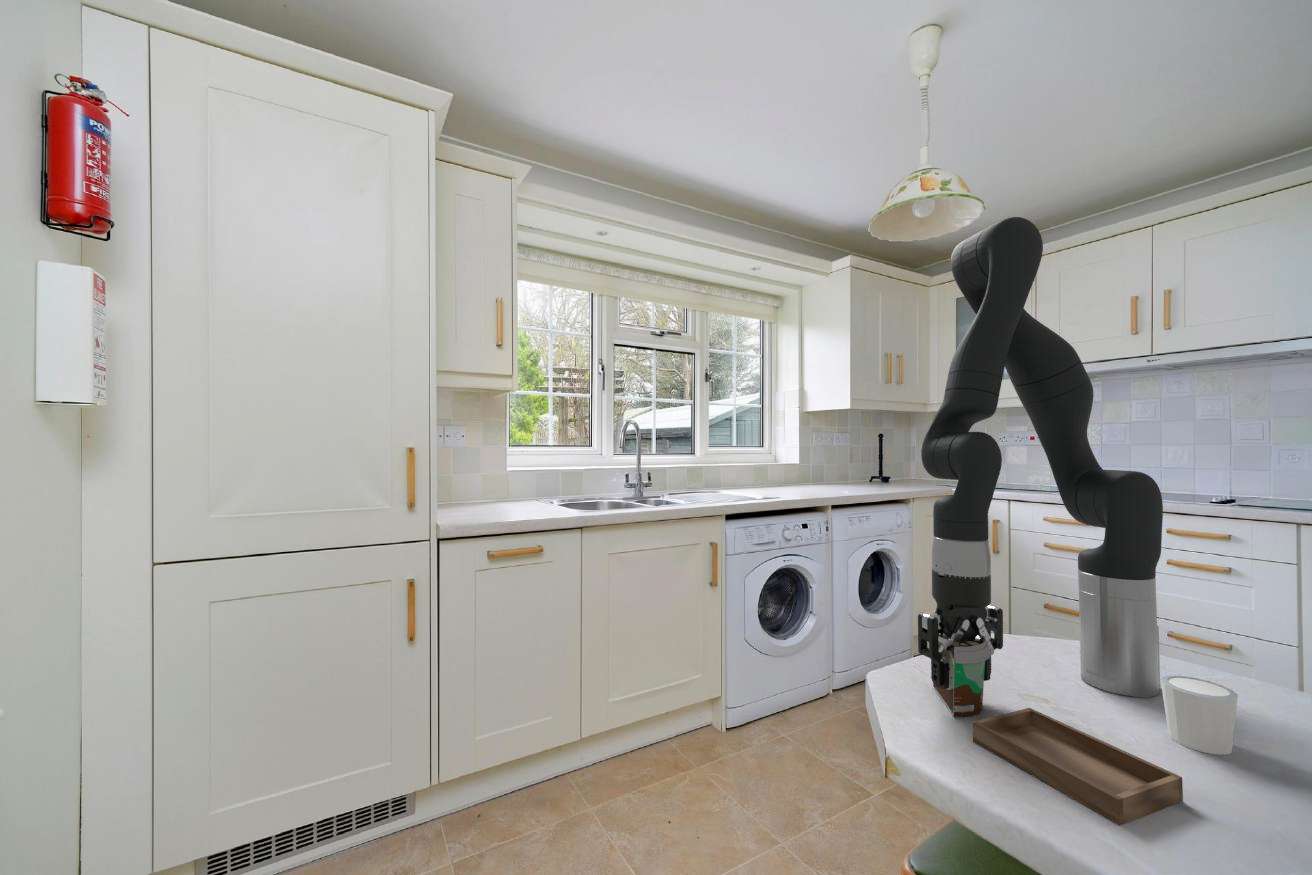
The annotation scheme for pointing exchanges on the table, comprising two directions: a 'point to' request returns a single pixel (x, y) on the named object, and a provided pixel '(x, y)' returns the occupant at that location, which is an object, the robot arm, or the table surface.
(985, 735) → the walnut tray
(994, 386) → the robot arm
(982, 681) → the food container
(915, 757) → the table surface
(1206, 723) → the white cup
